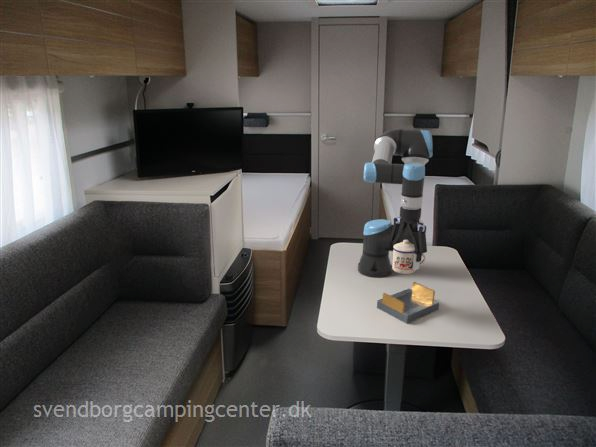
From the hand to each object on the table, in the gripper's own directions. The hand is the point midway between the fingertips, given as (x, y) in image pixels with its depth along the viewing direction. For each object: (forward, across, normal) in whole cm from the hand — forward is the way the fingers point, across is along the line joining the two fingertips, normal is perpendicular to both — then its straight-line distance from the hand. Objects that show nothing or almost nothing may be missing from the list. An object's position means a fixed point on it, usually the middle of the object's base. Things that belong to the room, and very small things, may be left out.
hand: (405, 265), depth 188 cm
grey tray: (+18, +1, +2) cm, 18 cm away
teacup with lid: (+2, +1, 0) cm, 2 cm away
